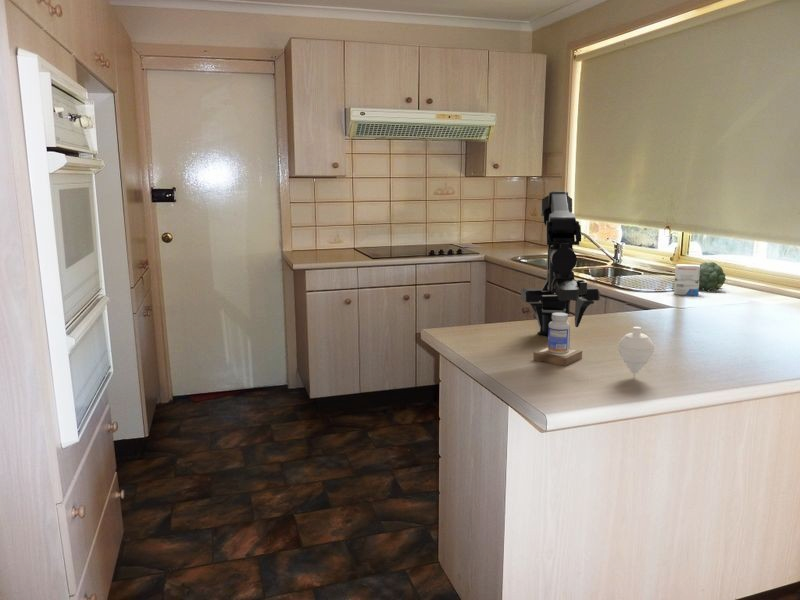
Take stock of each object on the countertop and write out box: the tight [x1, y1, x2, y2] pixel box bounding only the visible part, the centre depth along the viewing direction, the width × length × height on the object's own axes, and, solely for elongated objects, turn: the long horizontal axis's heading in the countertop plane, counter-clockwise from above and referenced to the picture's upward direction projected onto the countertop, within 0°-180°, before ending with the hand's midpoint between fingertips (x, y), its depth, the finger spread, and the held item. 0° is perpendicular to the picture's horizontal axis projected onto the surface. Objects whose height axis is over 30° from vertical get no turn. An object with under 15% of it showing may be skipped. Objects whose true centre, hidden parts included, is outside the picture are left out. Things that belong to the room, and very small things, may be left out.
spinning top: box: [617, 326, 655, 379], centre depth 143 cm, size 8×8×12 cm
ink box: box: [673, 263, 701, 297], centre depth 245 cm, size 9×5×12 cm, turn 58°
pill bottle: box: [547, 313, 571, 353], centre depth 159 cm, size 5×5×10 cm
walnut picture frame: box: [532, 345, 583, 367], centre depth 160 cm, size 9×9×2 cm
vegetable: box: [699, 261, 727, 292], centre depth 254 cm, size 12×13×15 cm
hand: (558, 327), depth 158 cm, fingers open, 9 cm apart
